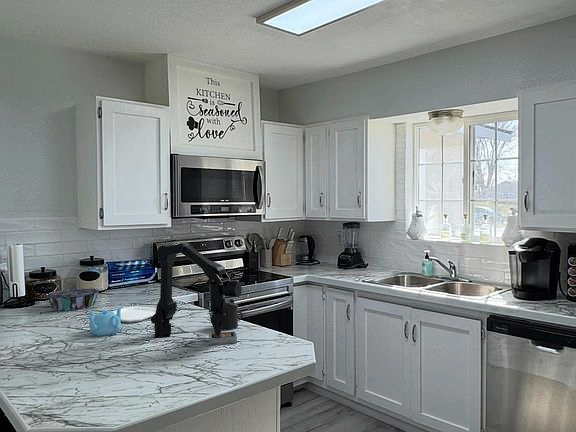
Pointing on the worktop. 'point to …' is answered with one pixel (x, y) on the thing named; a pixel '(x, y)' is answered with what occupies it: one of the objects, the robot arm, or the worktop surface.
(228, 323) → the mug
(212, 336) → the grey rectangular tray
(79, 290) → the decorative bowl
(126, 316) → the plate
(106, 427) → the worktop surface
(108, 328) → the teapot
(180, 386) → the worktop surface
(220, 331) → the tan toy chair
